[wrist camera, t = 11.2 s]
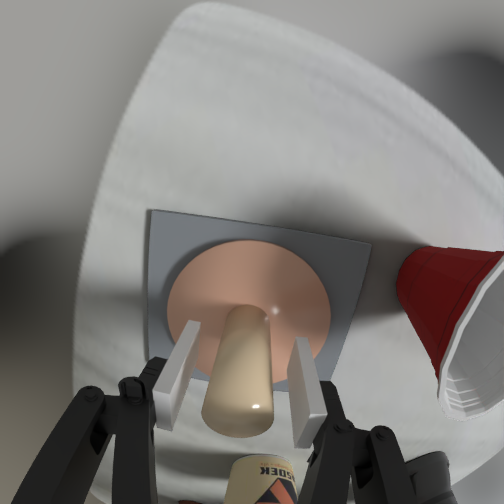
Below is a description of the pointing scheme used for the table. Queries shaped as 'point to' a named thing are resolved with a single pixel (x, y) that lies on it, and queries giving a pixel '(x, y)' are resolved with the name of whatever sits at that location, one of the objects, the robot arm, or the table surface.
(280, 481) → the coffee cup
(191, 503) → the ice cream bowl
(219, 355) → the lid
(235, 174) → the table surface
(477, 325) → the plastic cup
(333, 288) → the mat
